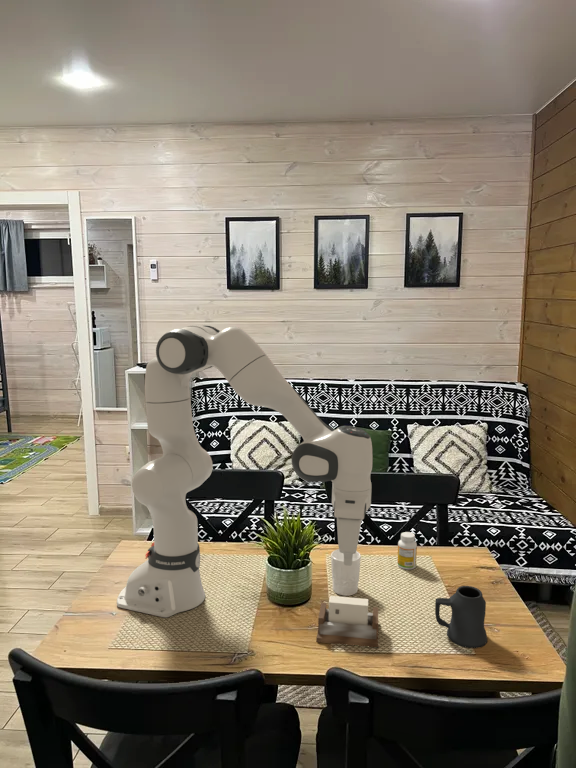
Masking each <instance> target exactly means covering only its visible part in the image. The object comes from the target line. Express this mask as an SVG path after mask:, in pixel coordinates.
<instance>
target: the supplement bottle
mask: <svg viewBox="0 0 576 768" xmlns="http://www.w3.org/2000/svg"><path fill="white" fill-rule="evenodd" d="M415 535H416V534H414V533H413V532H410V531H405V532H401V533H400V539H399V540H398V542H397V566H398V567H399V568H400V569H403V570H407V571H408V570H413V569H415V568H416V566H417V550H418V546H417V545H418V544H417V541H415V540H416V536H415Z"/></svg>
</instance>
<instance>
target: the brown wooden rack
mask: <svg viewBox="0 0 576 768" xmlns="http://www.w3.org/2000/svg"><path fill="white" fill-rule="evenodd" d="M317 623H318V626H317V633H316V642H317V643H325V644H333V645H335V644H336V645H344V646H354V645H359V646H358V647H364V646H369V647H368V648H374V647H378V648H379V625H380V624H379V607H375V606H373V607H372V612H368V626H366V625H356V624H345V623H334V622H329V608H327V602H321V604H320V608H319V612H318V617H317ZM346 644H347V645H346Z"/></svg>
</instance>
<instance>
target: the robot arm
mask: <svg viewBox="0 0 576 768" xmlns="http://www.w3.org/2000/svg"><path fill="white" fill-rule="evenodd" d="M213 367H214V368H215V369H216V370H218V371H219V372H220V373H221V374H222V375H223V377H224V378H225V379H226V381H227V382H228V384H229V385H230V387H231V388H232V390H233V391H234V392H235V393H236V394H237V395H238V396H239V397H240V398H241V399H242V400H243V401H244V402H246V403H247V404H249V405H252V406H255V407H263V408H268V409H271V410H273V411H276V412H278V413H279V414H280V415H282V416H283V417H284V418H285V419H286V420H287V421H288V422H289V424H290V425H291V426H292V427H293V428H294V430H295V431H296V432H297V433H298V434H299V436H301V437H302V439H303V441H302V442H301V443H300V444H298V445H297V447H295V449H294V450H293V452H292V454H291V466H292V469H293V471H294V473H295V474H296V475H297V476H298V478H300V479H302V480H303V481H306V482H309V483H313V482H314V483H321V482H322V483H323V482H332V483H331V484H332V487H331V505H332V507H333V514H334V518H336V527H337V528H336V529H337V543H338V544H337V545H338V549H339V551H340V552H341V553H343V554H344V565H347V566H351V565H352V556H353V554H355V553H356V551H357V550H358V545H359V539H360V531H361V525H362V522H363V520H364V519H365V517H366V516H365V515H366V513H367V511H368V510H369V509H370V508H371V505H372V482H371V474H372V471H373V460H374V459H373V458H374V457H373V443H372V439H371V435H370V434H369V433H368V432H367V431H366V430H364V429H362V428H360V427H357V426H355V425H353V426H352V425H341V426H339V427H337V428H336V429H335V428H333V427H332V426H329V425H328V424H327V423H325V422H324V421H323V420H322V419H321V418H320V416H318V415H317V413H316V412H315V411H314V410H313V408H311V406H309V404H308V403H307V402H306V401H305V399H304V398H303V397H302V396H301V395H300V394H299V393H298V392H297V390H295V388H293V387H292V385H291V384H290V383H289V382H288V380H287V379H286V378H285V377H284V376H283V374H282V373H281V372H280V371H279V369H278V368H277V367H276V366H275V364H274V363H273V361H272V360H271V358H269V355H267V354H266V352H265V351H264V350H263V348H261V346H260V345H259V344H258V343H257V342H256V341H255V340H254V338H252V337H251V336H250V335H249V334H248V333H247V332H246V331H245V330H244V329H243V328H241V327H237V326H230V327H229V326H228V327H225V328H223V329H222V330H219V329H218V328H216V327H214V326H211V325H205V324H204V325H188V326H185V327H182V328H173V329H171V330H169V331H167V332H166V333H164V334H163V335H161V337H160V338H159V340H158V341H157V344H156V347H155V356H154V357H153V358H150V360H149V361H148V362H147V364H146V367H145V376H144V401H145V412H146V413H145V414H146V424H147V431H148V432H149V435H150V436H151V437H153V438H155V439H156V440H157V441H158V443H159V444H160V446H161V450H162V456H160V457H157V458H156V459H153V460H150V461H148V462H147V463H146V464H144V465H143V466H141V467H140V468H139V469H138V470H137V471H136V472H135V473H134V474H133V475H132V480H131V490H132V493H133V495H134V498H135V499H136V500H137V501H138V503H140V504H141V505H142V506H145V507H146V508H147V510H148V511H149V514H150V517H151V520H152V526H153V527H152V529H153V542H152V543H151V545H150V547H149V548H148V549H147V552H146V553H145V558H144V559H146V560H145V561H144V562H143V563H141V564H140V565H138V566H137V567H136V568H135V569H134V570H133V571H132V572H131V573H130V575H129V577H128V578H127V582H126V584H125V585H126V586H125V587H124V588H122V590H121V591H120V592H119V594H118V596H117V598H116V606H117V608H121V609H125V610H130V611H134V612H139V613H143V614H147V615H148V614H149V615H152V616H156V617H160V618H169V617H171V616H173V615H176V614H178V613H182V612H186V611H190V610H192V609H195V608H196V607H198V606H199V605H201V604H202V603H203V602H204V600H205V599H206V593H205V590H204V587H203V583H202V578H201V570H200V567H201V550H200V544H199V542H198V540H199V536H198V534H199V533H198V518H197V515H196V514H195V513H194V512H193V511H192V510H190V509H189V508H188V506H187V503H186V496H187V493H189V492H191V491H193V490H195V489H197V488H199V487H200V486H201V485H203V483H204V482H205V481H207V479H208V478H210V476H211V475H212V472H213V468H214V466H213V464H214V463H213V460H212V457H211V456H210V454H209V453H208V451H207V450H205V449H204V448H203V447H202V446H201V445H200V442H199V440H198V437H197V435H196V431H195V428H194V423H193V414H192V402H191V390H190V381H191V378H192V375H193V374H194V373H200V372H202V371H205V370H207V369H210V368H213Z"/></svg>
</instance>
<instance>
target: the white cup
mask: <svg viewBox="0 0 576 768" xmlns="http://www.w3.org/2000/svg"><path fill="white" fill-rule="evenodd" d="M330 556H331V557H330V559H331V560H330V561H331V579H332V580H331V581H332V591H333V592H334V593H335V594H337V595H339V596H343V597H348V596H352V595H355V594H357V592H358V589H359V582H360V571H361V557H362V555H361V553H360V552H359V551H357V550H356V553H355V554H353V556H352V565H351V566H347V565H344V554H343V553H341V552H340V551H339V548H337V549H335V550H333V551H332V552H331V553H330Z"/></svg>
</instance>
